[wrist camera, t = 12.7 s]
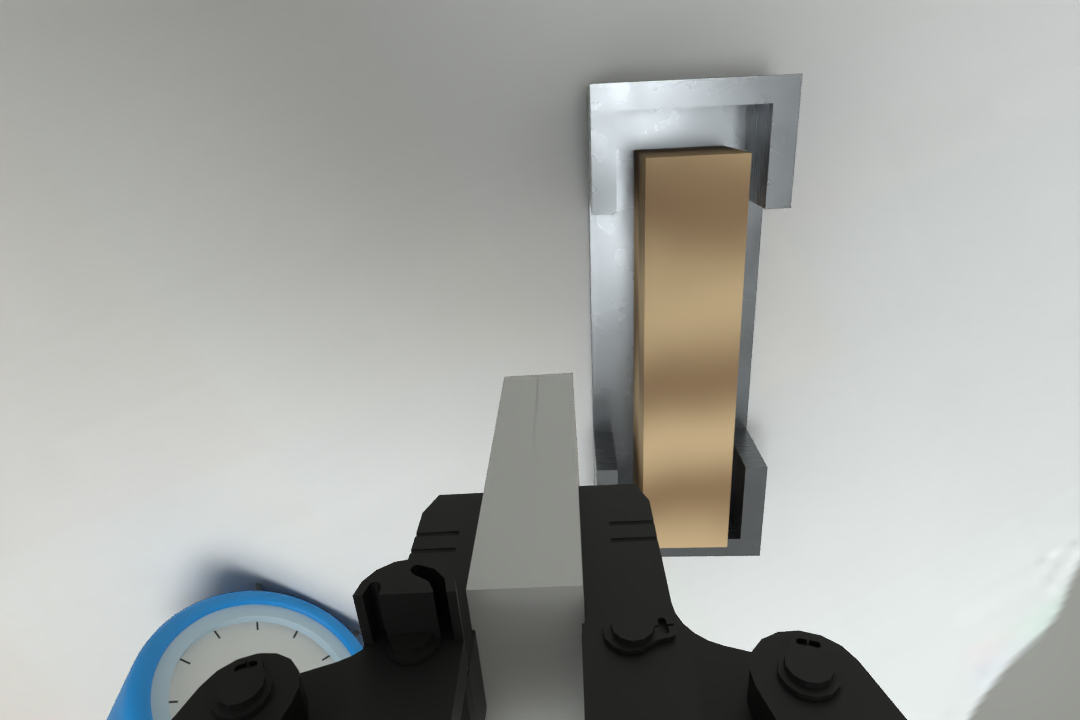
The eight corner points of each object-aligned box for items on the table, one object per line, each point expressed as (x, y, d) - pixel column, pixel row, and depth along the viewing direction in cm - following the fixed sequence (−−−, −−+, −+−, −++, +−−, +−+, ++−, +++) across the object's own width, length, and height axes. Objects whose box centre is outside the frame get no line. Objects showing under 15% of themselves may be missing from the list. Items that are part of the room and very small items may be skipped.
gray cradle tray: (587, 87, 30) (590, 84, 25) (768, 78, 29) (802, 73, 25) (594, 505, 38) (597, 557, 33) (737, 503, 37) (759, 555, 33)
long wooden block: (633, 149, 30) (645, 158, 25) (723, 145, 30) (751, 152, 25) (633, 491, 36) (642, 548, 32) (707, 490, 36) (727, 547, 32)
